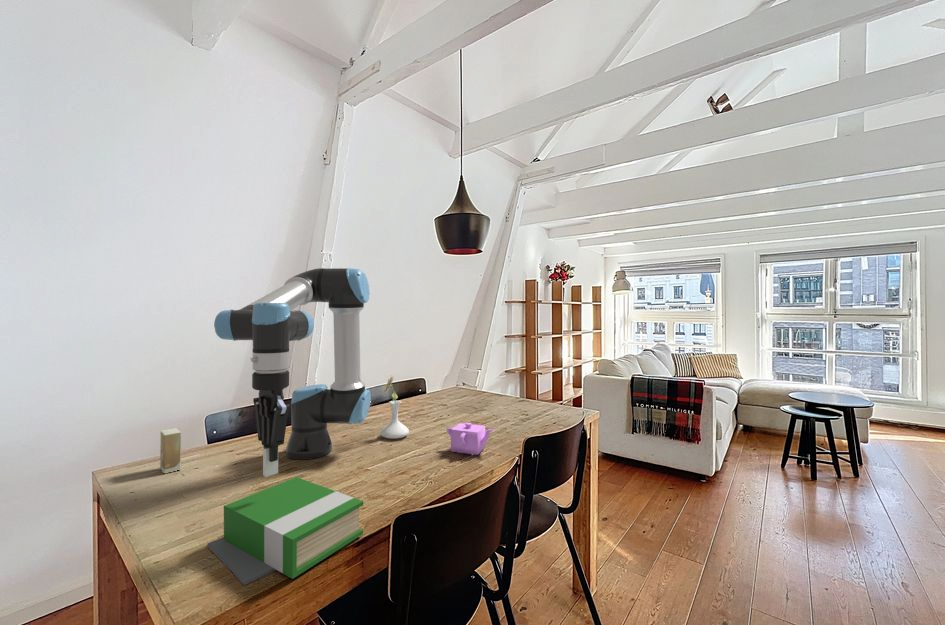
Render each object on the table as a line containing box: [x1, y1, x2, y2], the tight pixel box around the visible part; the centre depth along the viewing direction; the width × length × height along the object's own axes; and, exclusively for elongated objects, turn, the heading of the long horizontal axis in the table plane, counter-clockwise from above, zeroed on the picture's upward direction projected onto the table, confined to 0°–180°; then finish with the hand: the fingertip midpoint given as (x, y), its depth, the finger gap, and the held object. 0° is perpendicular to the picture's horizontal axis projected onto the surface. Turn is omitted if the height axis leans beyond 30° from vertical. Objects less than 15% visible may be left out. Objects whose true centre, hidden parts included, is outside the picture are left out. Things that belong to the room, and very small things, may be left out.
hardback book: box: [223, 476, 364, 580], centre depth 89 cm, size 18×7×24 cm
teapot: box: [446, 422, 495, 456], centre depth 144 cm, size 18×14×10 cm
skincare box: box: [159, 427, 182, 474], centre depth 125 cm, size 6×4×12 cm
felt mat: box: [206, 536, 277, 586], centre depth 89 cm, size 19×22×1 cm
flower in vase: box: [379, 375, 410, 440], centre depth 159 cm, size 13×11×25 cm
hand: (270, 474), depth 91 cm, fingers closed
